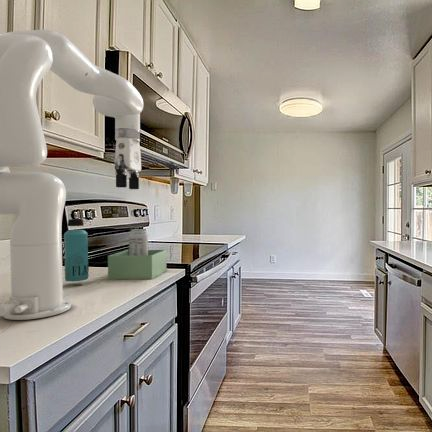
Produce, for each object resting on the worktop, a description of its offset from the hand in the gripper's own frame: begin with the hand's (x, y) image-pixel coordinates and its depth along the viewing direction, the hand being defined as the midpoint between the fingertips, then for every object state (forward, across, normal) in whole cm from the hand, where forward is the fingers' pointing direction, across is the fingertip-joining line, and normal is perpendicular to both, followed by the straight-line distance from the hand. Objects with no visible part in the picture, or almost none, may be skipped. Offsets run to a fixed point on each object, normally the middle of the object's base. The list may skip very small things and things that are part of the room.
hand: (127, 188), depth 118 cm
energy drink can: (+29, +5, -2) cm, 30 cm away
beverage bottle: (+30, -10, +11) cm, 34 cm away
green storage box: (+30, +5, -2) cm, 30 cm away
